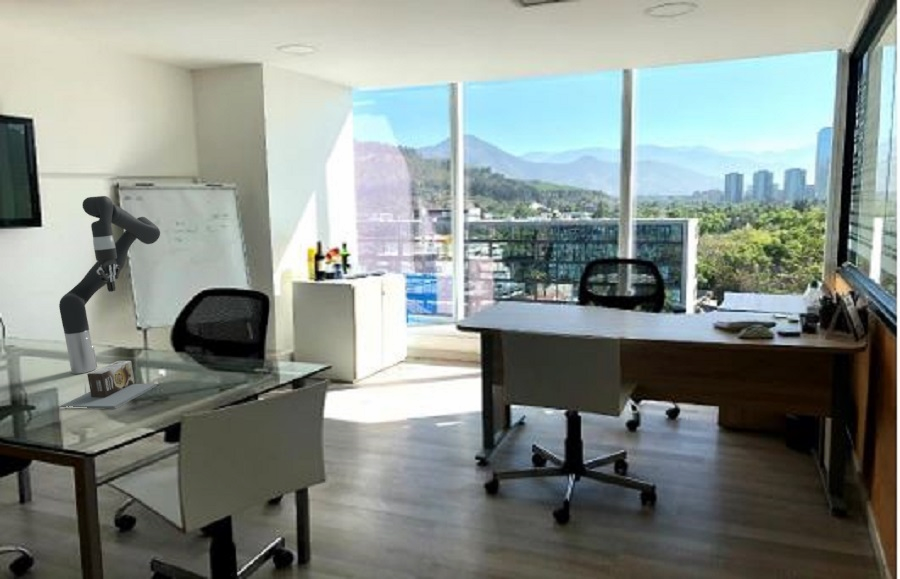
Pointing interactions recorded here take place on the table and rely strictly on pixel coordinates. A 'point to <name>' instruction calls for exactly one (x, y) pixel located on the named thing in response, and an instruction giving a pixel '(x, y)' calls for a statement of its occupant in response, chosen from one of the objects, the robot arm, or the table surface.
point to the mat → (111, 397)
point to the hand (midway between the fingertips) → (112, 291)
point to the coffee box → (110, 379)
